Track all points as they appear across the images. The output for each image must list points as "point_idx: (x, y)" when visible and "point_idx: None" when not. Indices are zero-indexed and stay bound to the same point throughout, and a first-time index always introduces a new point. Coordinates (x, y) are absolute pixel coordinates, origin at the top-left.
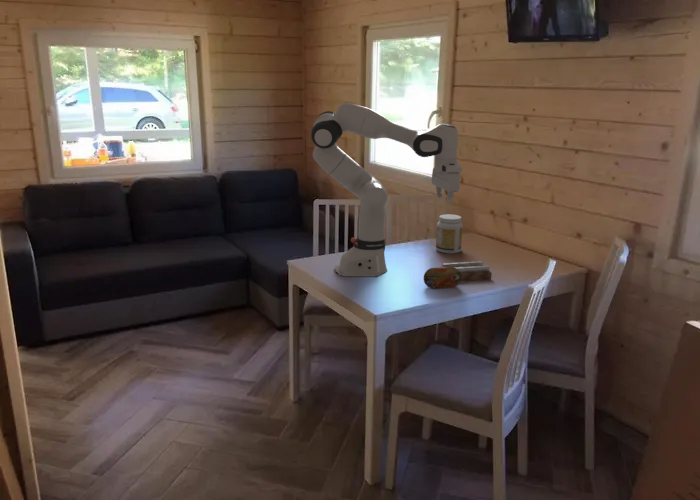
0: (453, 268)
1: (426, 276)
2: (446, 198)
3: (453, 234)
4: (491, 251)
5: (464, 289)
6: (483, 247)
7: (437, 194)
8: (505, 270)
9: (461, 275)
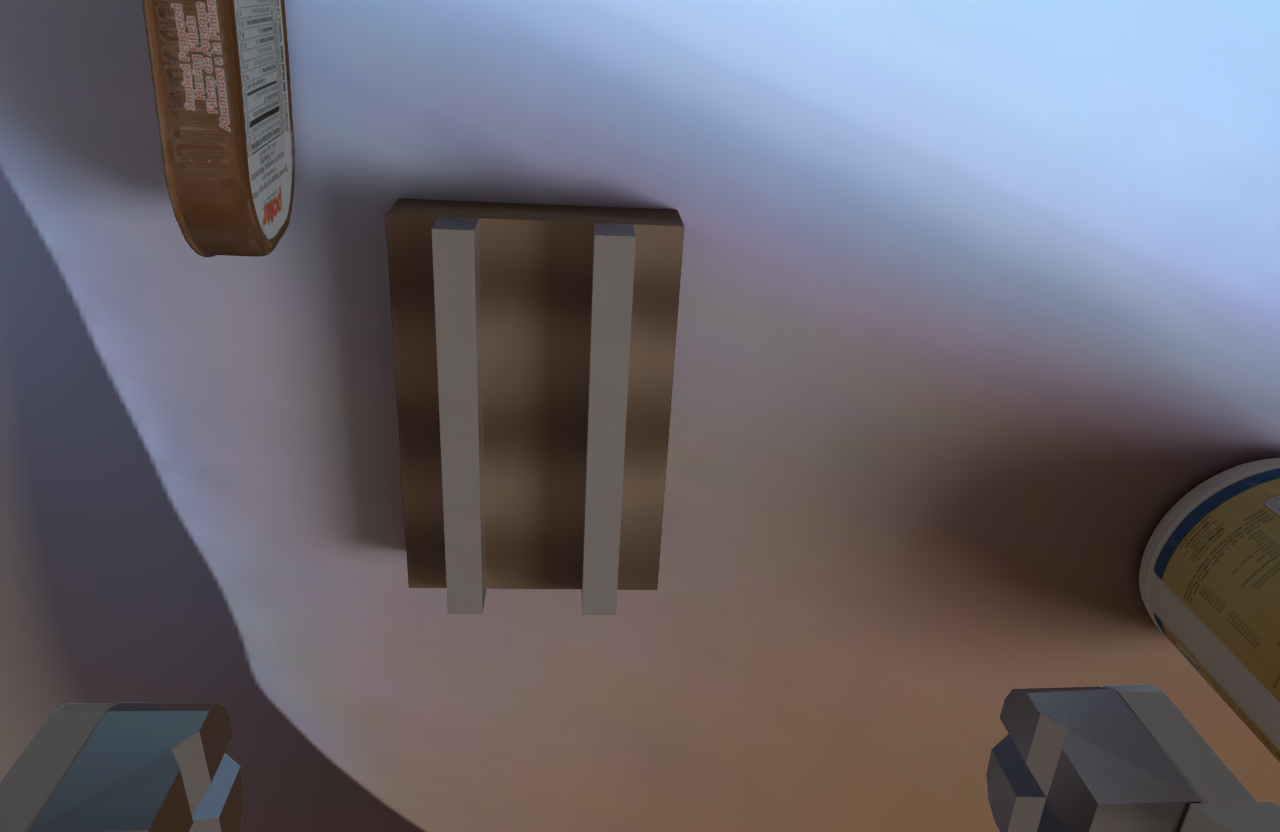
0: (182, 190)
1: None
2: (124, 779)
3: (1256, 657)
4: None
5: None
6: None
7: (1146, 746)
8: (608, 727)
9: (393, 320)
